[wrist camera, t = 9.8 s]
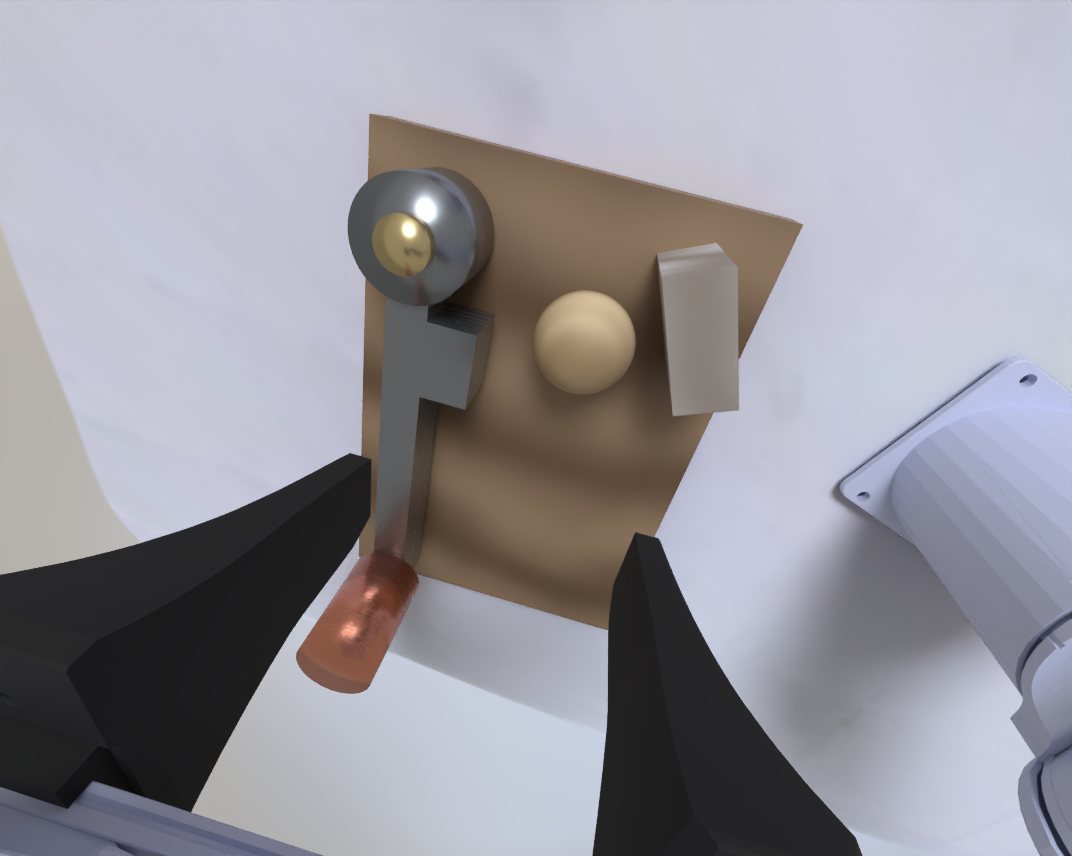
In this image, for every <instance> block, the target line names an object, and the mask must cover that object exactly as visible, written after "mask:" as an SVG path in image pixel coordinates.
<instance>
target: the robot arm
mask: <svg viewBox="0 0 1072 856" xmlns="http://www.w3.org/2000/svg"><path fill="white" fill-rule="evenodd" d="M1028 374H1030V375H1029V378H1028V379H1027V380H1026V381H1024V382H1021V383H1020V380H1021V379H1022V378H1023V377H1024V376H1026V375H1028ZM371 460H372V459H369V458H366V457H362V456H358V455H355V454H351V453H349V454H347V455H345V456H343V457H341V458H339V459H338V460H336V461H334V462H332V463H330V464H328V465H326V466H324V467H323V468H321V469H319V470H317V471H315V472H313V473H311V474H309V475H307V476H305V477H304V478H302V479H300V480H298V481H296V482H294V483H292V484H290V485H288V486H286V487H284V488H282V489H280V490H278V491H276V492H274V493H272V494H269V495H267V496H265V497H263V498H261V499H259V500H256V501H254V502H252V503H250V504H248V505H246V506H243V507H241V508H239V509H237V510H234V511H232V512H229V513H227V514H225V515H222V516H220V517H217V518H214V519H212V520H209V521H206V522H204V523H201V524H198V525H196V526H193V527H190V528H187V529H184V530H181V531H178V532H175V533H172V534H169V535H165V536H162V537H159V538H156V539H153V540H149V541H146V542H143V543H140V544H136V545H133V546H129V547H126V548H122V549H118V550H115V551H111V552H107V553H103V554H99V555H95V556H90V557H86V558H83V559H78V560H73V561H69V562H64V563H59V564H54V565H50V566H44V567H39V568H34V569H29V570H24V571H19V572H14V573H8V574H3V575H0V856H322V855H319V854H316V853H313V852H310V851H307V850H304V849H301V848H298V847H295V846H292V845H289V844H286V843H283V842H280V841H276V840H273V839H270V838H267V837H264V836H261V835H258V834H255V833H252V832H249V831H246V830H243V829H239V828H237V827H234V826H230V825H227V824H224V823H221V822H218V821H215V820H212V819H209V818H206V817H203V816H200V815H197V814H194V813H191V811H192V809H193V807H194V805H195V803H196V801H197V799H198V797H199V795H200V793H201V791H202V789H203V787H204V785H205V783H206V782H207V780H208V778H209V776H210V774H211V772H212V770H213V768H214V766H215V764H216V762H217V760H218V758H219V756H220V754H221V752H222V750H223V749H224V747H225V745H226V743H227V741H228V740H229V738H230V736H231V734H232V732H233V730H234V729H235V727H236V725H237V723H238V721H239V719H240V717H241V716H242V714H243V712H244V710H245V709H246V707H247V705H248V703H249V701H250V700H251V698H252V696H253V695H254V693H255V691H256V689H257V688H258V686H259V684H260V682H261V681H262V679H263V677H264V676H265V674H266V672H267V670H268V668H269V667H270V665H271V664H272V662H273V660H274V658H275V657H276V655H277V654H278V652H279V650H280V649H281V647H282V645H283V644H284V642H285V641H286V639H287V637H288V636H289V634H290V632H291V631H292V629H293V628H294V627H295V625H296V624H297V622H298V621H299V619H300V618H301V616H302V615H303V614H304V612H305V611H306V610H307V608H308V607H309V606H310V604H311V603H312V602H313V600H314V599H315V598H316V596H317V595H318V594H319V592H320V591H321V590H322V588H323V587H324V586H325V584H326V583H327V582H328V580H329V579H330V578H331V576H332V575H333V574H334V572H335V571H336V570H337V568H338V567H339V566H340V564H341V563H342V562H343V560H344V559H345V558H346V556H347V555H348V553H349V552H350V551H351V549H352V548H353V546H354V545H355V543H356V541H357V539H358V538H359V536H360V534H361V532H362V531H363V529H364V527H365V525H366V523H367V521H368V520H369V518H370V516H371ZM840 491H841V493H842V494H843V495H844V497H846V498H847V499H848V500H850V501H851V502H853V503H854V504H856V505H857V506H859V507H860V508H861V509H863V510H864V511H866V512H867V513H869V514H870V515H871V516H873V517H874V518H876V519H877V520H879V521H880V522H882V523H883V524H884V525H886V526H887V527H889V528H890V529H892V530H893V531H895V532H896V533H897V534H899V535H900V536H902V537H903V538H905V539H906V540H907V541H909V542H910V543H912V544H913V545H915V546H916V547H917V548H918V549H919V551H920V552H921V554H922V555H923V556H924V558H925V559H926V561H927V562H928V564H929V565H930V566H931V568H932V569H933V571H934V572H935V573H936V575H937V576H938V578H939V579H940V581H941V582H942V583H943V585H944V586H945V588H946V589H947V591H948V592H949V593H950V595H951V596H952V598H953V599H954V600H955V602H956V603H957V605H958V606H959V608H960V609H961V610H962V612H963V613H964V615H965V616H966V618H967V619H968V620H969V622H970V623H971V625H972V626H973V627H974V629H975V630H976V632H977V633H978V635H979V636H980V637H981V639H982V640H983V642H984V643H985V645H986V646H987V647H988V649H989V650H990V652H991V653H992V654H993V656H994V657H995V659H996V660H997V662H998V663H999V664H1000V666H1001V667H1002V669H1003V670H1004V671H1005V673H1006V674H1007V676H1008V677H1009V679H1010V680H1011V681H1012V683H1013V684H1014V686H1015V687H1016V689H1017V690H1018V691H1019V693H1020V694H1021V696H1022V697H1023V702H1022V705H1021V707H1020V708H1019V710H1018V711H1017V712H1016V713H1014V714H1013V715H1012V717H1011V720H1012V722H1013V723H1014V725H1015V726H1016V728H1017V730H1018V731H1019V733H1020V734H1021V736H1022V737H1023V739H1024V740H1025V742H1026V743H1027V745H1028V746H1029V748H1030V749H1031V751H1032V752H1033V754H1034V755H1035V757H1036V758H1034V759H1033V760H1032V761H1030V762H1029V763H1028V764H1027V765H1026V766H1025V767H1024V769H1023V771H1022V773H1021V775H1020V778H1019V783H1018V797H1019V803H1020V809H1021V812H1022V815H1023V818H1024V821H1025V824H1026V827H1027V830H1028V832H1029V834H1030V836H1031V838H1032V840H1033V842H1034V845H1035V847H1036V849H1037V851H1038V853H1039V855H1040V856H1072V394H1071V393H1069V392H1068V391H1067V390H1066V389H1064V388H1063V387H1062V386H1061V385H1060V384H1058V383H1057V382H1056V381H1055V380H1053V379H1052V378H1051V377H1050V376H1048V375H1047V374H1046V373H1045V372H1043V371H1042V370H1041V369H1040V368H1038V367H1037V366H1036V365H1035V364H1033V363H1032V362H1030V361H1029V360H1027V359H1024V358H1022V357H1014V358H1011V359H1008V360H1006V361H1004V362H1003V363H1001V364H1000V365H999V366H997V367H996V368H995V369H993V370H992V371H991V372H989V373H988V374H987V375H985V376H984V377H983V378H981V379H980V380H979V381H977V382H976V383H974V384H973V385H972V386H970V387H969V388H968V389H966V390H965V391H964V392H962V393H961V394H960V395H958V396H957V397H956V398H954V399H953V400H952V401H950V402H949V403H947V404H946V405H945V406H943V407H942V408H941V409H939V410H938V411H937V412H935V413H934V414H933V415H931V416H930V417H929V418H927V419H926V420H924V421H923V422H922V423H920V424H919V425H918V426H916V427H915V428H914V429H912V430H911V431H910V432H908V433H907V434H906V435H904V436H903V437H902V438H900V439H899V440H897V441H896V442H895V443H893V444H892V445H891V446H889V447H888V448H887V449H885V450H884V451H883V452H881V453H880V454H879V455H877V456H876V457H875V458H873V459H872V460H870V461H869V462H868V463H866V464H865V465H864V466H862V467H861V468H860V469H858V470H857V471H856V472H854V473H853V474H852V475H850V476H849V477H848V478H846V479H845V480H844V481H843V482H842V483H841V484H840ZM861 492H866V493H865V494H864V495H862V496H857V495H858V494H859V493H861ZM593 856H862V853H861V851H860V848H859V845H858V843H857V840H856V838H855V837H854V835H853V834H852V833H851V832H850V831H849V830H848V829H847V828H846V827H845V826H844V825H843V823H842V822H841V821H840V820H839V819H838V818H837V817H836V816H835V815H834V814H833V812H832V811H831V810H830V809H829V808H828V807H827V806H826V805H825V804H824V803H823V801H822V800H821V799H820V798H819V797H818V796H817V795H816V794H815V793H814V792H813V791H812V789H811V788H810V787H809V786H808V785H807V784H806V783H805V781H804V780H803V779H802V778H801V777H800V775H799V774H798V773H797V772H796V771H795V769H794V768H793V767H792V766H791V764H790V763H789V762H788V761H787V760H786V758H785V757H784V756H783V755H782V754H781V752H780V751H779V750H778V749H777V747H776V746H775V745H774V743H773V742H772V741H771V740H770V738H769V737H768V736H767V734H766V733H765V732H764V730H763V729H762V727H761V726H760V725H759V723H758V722H757V721H756V719H755V718H754V717H753V715H752V714H751V713H750V711H749V710H748V708H747V707H746V706H745V704H744V703H743V701H742V700H741V699H740V697H739V696H738V694H737V693H736V691H735V690H734V688H733V687H732V685H731V683H730V682H729V680H728V679H727V677H726V676H725V674H724V672H723V671H722V669H721V668H720V666H719V664H718V662H717V661H716V659H715V657H714V656H713V654H712V652H711V650H710V649H709V647H708V645H707V643H706V641H705V639H704V638H703V636H702V634H701V632H700V630H699V628H698V626H697V624H696V622H695V620H694V618H693V616H692V614H691V612H690V610H689V608H688V606H687V604H686V602H685V599H684V597H683V595H682V593H681V591H680V589H679V586H678V584H677V582H676V579H675V577H674V575H673V572H672V570H671V567H670V565H669V562H668V560H667V557H666V555H665V552H664V550H663V547H662V544H661V542H660V540H659V539H658V538H655V537H651V536H648V535H644V534H640V533H637V532H635V534H634V536H633V539H632V541H631V543H630V546H629V548H628V551H627V553H626V555H625V558H624V560H623V562H622V565H621V567H620V570H619V572H618V574H617V577H616V579H615V582H614V584H613V590H612V598H611V605H610V614H609V626H608V716H607V732H606V742H605V752H604V762H603V772H602V781H601V790H600V799H599V807H598V817H597V824H596V833H595V840H594V848H593Z"/></svg>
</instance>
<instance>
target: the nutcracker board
mask: <svg viewBox="0 0 1072 856" xmlns="http://www.w3.org/2000/svg"><path fill="white" fill-rule="evenodd" d="M427 167H442V168H448V169H450V170H453V171H456V172H458V173H460V174H462V175H463V176H465V177H466V178H468V179H469V180H470V181H471V182H472V183H473V184H474V185H475V186H476V187H477V188H478V189H479V190H480V192H481V193H482V195H483V196H484V198H485V200H486V202H487V203H488V206H489V208H490V211H491V214H492V218H493V223H494V244H493V248H492V252H491V254H490V257H489V259H488V261H487V263H486V264H485V266H484V267H483V268H482V269H481V271H480V272H479V273H478V274H476V275H475V276H474V277H473V278H471V279H470V280H469V281H468V282H466V283H465V284H464V285H463V286H461V287H460V288H459V289H458V290H456V291H455V292H454V293H453V294H451V302H452V303H456V304H460V305H463V306H467V307H471V308H474V309H478V310H482V311H485V312H489V313H493V314H495V317H494V323H493V329H492V335H491V340H490V346H489V352H488V357H487V363H486V369H485V375H484V380H483V383H482V385H481V386H480V388H479V389H478V391H477V392H476V394H475V396H474V397H473V399H472V400H471V402H470V403H469V405H468V406H467V408H466V409H465V410H464V409H461V408H457V407H454V406H450V405H446V404H443V403H439V402H438V410H437V418H436V426H435V434H434V443H433V451H432V459H431V467H430V475H429V484H428V492H427V500H426V508H425V517H424V525H423V533H422V541H421V550H420V558H419V560H418V562H417V564H416V565H415V567H414V571H415V572H416V574H420V575H423V576H427V577H430V578H433V579H437V580H440V581H443V582H447V583H450V584H454V585H457V586H460V587H464V588H467V589H470V590H474V591H477V592H480V593H484V594H487V595H491V596H494V597H497V598H501V599H504V600H507V601H511V602H514V603H518V604H521V605H524V606H528V607H531V608H534V609H538V610H541V611H545V612H548V613H551V614H555V615H558V616H561V617H565V618H568V619H572V620H575V621H578V622H582V623H585V624H588V625H592V626H595V627H598V628H602V629H605V630H608V626H609V614H610V605H611V598H612V590H613V584H614V582H615V579H616V577H617V574H618V572H619V570H620V567H621V565H622V562H623V560H624V558H625V555H626V553H627V551H628V548H629V546H630V543H631V541H632V539H633V536H634V534H635V532H637V533H640V534H644V535H648V536H651V537H654V536H655V534H656V532H657V530H658V528H659V526H660V524H661V522H662V519H663V517H664V515H665V513H666V511H667V509H668V507H669V505H670V503H671V501H672V498H673V496H674V494H675V492H676V490H677V488H678V486H679V484H680V482H681V480H682V478H683V475H684V473H685V471H686V469H687V467H688V465H689V463H690V461H691V459H692V457H693V454H694V452H695V450H696V448H697V446H698V444H699V442H700V440H701V438H702V436H703V434H704V431H705V429H706V427H707V425H708V423H709V421H710V419H711V417H712V415H713V413H714V412H724V411H735V410H739V377H738V360H739V358H740V356H741V354H742V352H743V350H744V348H745V345H746V343H747V341H748V339H749V337H750V335H751V333H752V331H753V329H754V327H755V325H756V322H757V320H758V318H759V316H760V314H761V312H762V310H763V308H764V306H765V304H766V301H767V299H768V297H769V295H770V293H771V291H772V289H773V287H774V285H775V283H776V281H777V278H778V276H779V274H780V272H781V270H782V268H783V266H784V264H785V262H786V260H787V257H788V255H789V253H790V251H791V249H792V247H793V245H794V243H795V241H796V239H797V236H798V234H799V232H800V230H801V228H802V226H803V225H802V224H800V223H798V222H796V221H794V220H792V219H789V218H785V217H781V216H777V215H773V214H769V213H765V212H761V211H757V210H753V209H749V208H745V207H742V206H738V205H734V204H730V203H726V202H722V201H718V200H714V199H710V198H706V197H702V196H699V195H695V194H691V193H687V192H683V191H679V190H675V189H671V188H667V187H663V186H659V185H656V184H652V183H648V182H644V181H640V180H636V179H632V178H628V177H624V176H620V175H616V174H613V173H609V172H605V171H601V170H597V169H593V168H589V167H585V166H581V165H577V164H573V163H570V162H566V161H562V160H558V159H554V158H550V157H546V156H542V155H538V154H534V153H530V152H527V151H523V150H519V149H515V148H511V147H507V146H503V145H499V144H495V143H491V142H487V141H484V140H480V139H476V138H472V137H468V136H464V135H460V134H456V133H452V132H448V131H444V130H441V129H437V128H433V127H429V126H425V125H421V124H417V123H413V122H409V121H405V120H401V119H398V118H394V117H390V116H383V115H375V114H370V117H369V159H368V181H369V180H370V179H372V178H373V177H375V176H377V175H379V174H381V173H385V172H388V171H396V170H406V169H416V168H427ZM579 290H591V291H597V292H600V293H603V294H606V295H608V296H610V297H611V298H613V299H614V300H616V301H617V302H618V303H619V304H620V305H621V306H622V307H623V308H624V309H625V310H626V312H627V313H628V315H629V316H630V319H631V321H632V323H633V326H634V330H635V336H636V347H635V353H634V357H633V360H632V362H631V365H630V366H629V368H628V370H627V371H626V373H625V374H624V375H623V377H622V378H621V379H620V380H619V381H618V382H616V383H615V384H614V385H612V386H611V387H609V388H607V389H606V390H603V391H601V392H598V393H594V394H583V395H581V394H573V393H569V392H566V391H563V390H561V389H559V388H558V387H556V386H554V385H553V384H552V383H550V382H549V381H548V380H547V379H546V378H545V377H544V375H543V374H542V373H541V371H540V369H539V367H538V366H537V363H536V361H535V358H534V354H533V333H534V329H535V326H536V323H537V321H538V319H539V317H540V315H541V314H542V312H543V311H544V310H545V309H546V307H547V306H548V305H549V304H550V303H552V302H553V301H554V300H555V299H557V298H558V297H560V296H562V295H564V294H567V293H570V292H574V291H579ZM385 308H386V296H385V295H383V294H382V293H381V292H379V291H378V290H377V289H376V288H375V287H374V286H373V285H372V284H371V283H370V282H369V281H368V280H367V279H366V285H365V327H364V370H363V412H362V454H361V456H362V457H366V458H369V459H372V460H371V516H370V518H369V520H368V521H367V523H366V525H365V527H364V529H363V531H362V532H361V534H360V538H359V557H362V556H363V555H364V554H366V553H369V552H374V536H375V515H376V495H377V474H378V453H379V432H380V412H381V391H382V370H383V349H384V329H385Z"/></svg>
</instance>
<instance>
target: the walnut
mask: <svg viewBox="0 0 1072 856" xmlns="http://www.w3.org/2000/svg"><path fill="white" fill-rule="evenodd" d="M635 347H636V336H635V330H634V326H633V323H632V321H631V319H630V316H629V315H628V313H627V312H626V310H625V309H624V308H623V307H622V306H621V305H620V304H619V303H618V302H617V301H616V300H614V299H613V298H611V297H610V296H608V295H606V294H603V293H600V292H597V291H591V290H579V291H574V292H570V293H567V294H564V295H562V296H560V297H558V298H557V299H555V300H554V301H553V302H552V303H550V304H549V305H548V306H547V307H546V309H545V310H544V311H543V312H542V314H541V315H540V317H539V319H538V321H537V323H536V326H535V329H534V333H533V354H534V358H535V361H536V363H537V366H538V367H539V369H540V371H541V373H542V374H543V375H544V377H545V378H546V379H547V380H548V381H549V382H550V383H552V384H553V385H554V386H556V387H558V388H559V389H561V390H563V391H566V392H569V393H573V394H581V395H583V394H594V393H598V392H601V391H603V390H606V389H607V388H609V387H611V386H612V385H614V384H615V383H616V382H618V381H619V380H620V379H621V378H622V377H623V375H624V374H625V373H626V371H627V370H628V368H629V366H630V365H631V362H632V360H633V357H634V353H635Z"/></svg>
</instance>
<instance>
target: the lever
mask: <svg viewBox="0 0 1072 856" xmlns="http://www.w3.org/2000/svg"><path fill="white" fill-rule="evenodd" d="M348 237H349V243H350V247H351V250H352V254H353V256H354V259H355V261H356V263H357V265H358V267H359V269H360V270H361V272H362V273H363V275H364V276H365V277H366V279H367V280H368V281H369V282H370V283H371V284H372V285H373V286H374V287H375V288H376V289H377V290H378V291H379V292H381V293H382V294H383V295H385V296H386V308H385V329H384V349H383V370H382V391H381V412H380V432H379V453H378V474H377V495H376V515H375V536H374V552H369V553H366V554H364V555H363V556H362V557H361V558H360V559H359V560H358V562H357V563H356V565H355V566H354V568H353V569H352V571H351V572H350V574H349V575H348V577H347V578H346V580H345V581H344V583H343V584H342V586H341V587H340V589H339V590H338V592H337V593H336V594H335V596H334V597H333V599H332V600H331V602H330V603H329V605H328V606H327V608H326V609H325V611H324V612H323V614H322V615H321V617H320V618H319V620H318V621H317V623H316V624H315V626H314V627H313V629H312V630H311V632H310V633H309V635H308V636H307V638H306V639H305V641H304V642H303V644H302V645H301V647H300V648H299V650H298V651H297V654H296V660H297V663H298V665H299V667H300V668H301V670H302V671H303V672H304V673H305V674H306V675H307V676H308V677H309V678H311V679H312V680H313V681H314V682H316V683H318V684H319V685H321V686H323V687H325V688H328V689H330V690H333V691H337V692H341V693H349V694H350V693H351V694H354V693H360V692H363V691H365V690H366V689H368V687H369V686H370V684H371V682H372V680H373V678H374V676H375V674H376V672H377V670H378V668H379V666H380V664H381V662H382V660H383V657H384V656H385V654H386V652H387V650H388V648H389V646H390V644H391V642H392V640H393V638H394V636H395V633H396V631H397V629H398V627H399V625H400V623H401V621H402V619H403V617H404V615H405V613H406V611H407V609H408V607H409V605H410V603H411V601H412V599H413V597H414V595H415V593H416V591H417V589H418V586H419V581H418V577H417V574H416V572H415V571H414V567H415V565H416V564H417V562H418V560H419V558H420V550H421V541H422V533H423V525H424V517H425V508H426V500H427V492H428V484H429V475H430V467H431V459H432V451H433V443H434V434H435V426H436V418H437V410H438V402H439V403H443V404H446V405H450V406H454V407H457V408H461V409H464V410H465V409H466V408H467V406H468V405H469V403H470V402H471V400H472V399H473V397H474V396H475V394H476V392H477V391H478V389H479V388H480V386H481V385H482V383H483V380H484V375H485V369H486V363H487V357H488V352H489V346H490V340H491V335H492V329H493V323H494V317H495V314H493V313H489V312H485V311H482V310H478V309H474V308H471V307H467V306H463V305H460V304H456V303H452V302H451V294H453V293H454V292H455V291H456V290H458V289H459V288H460V287H461V286H463V285H464V284H465V283H466V282H468V281H469V280H470V279H471V278H473V277H474V276H475V275H476V274H478V273H479V272H480V271H481V269H482V268H483V267H484V266H485V264H486V263H487V261H488V259H489V257H490V254H491V252H492V248H493V244H494V223H493V218H492V214H491V211H490V208H489V206H488V203H487V202H486V200H485V198H484V196H483V195H482V193H481V192H480V190H479V189H478V188H477V187H476V186H475V185H474V184H473V183H472V182H471V181H470V180H469V179H468V178H466V177H465V176H463V175H462V174H460V173H458V172H456V171H453V170H450V169H448V168H442V167H427V168H416V169H406V170H396V171H388V172H385V173H381V174H379V175H377V176H375V177H373V178H372V179H370V180H369V181H367V182H366V183H365V184H364V185H363V186H362V187H361V189H360V190H359V191H358V193H357V194H356V196H355V198H354V200H353V202H352V205H351V208H350V212H349V217H348Z"/></svg>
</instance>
